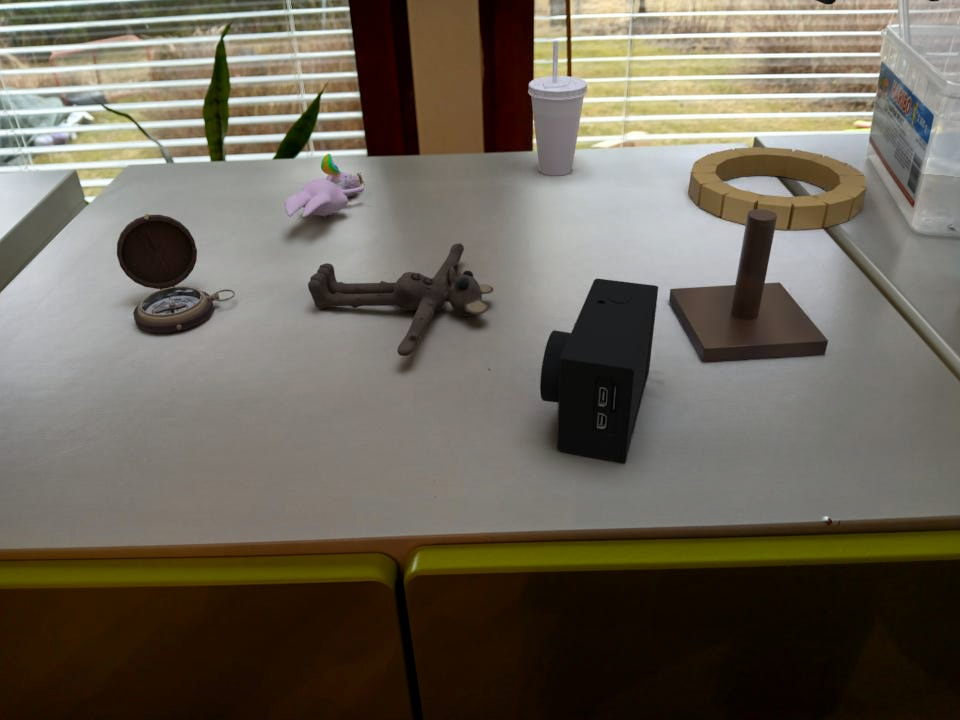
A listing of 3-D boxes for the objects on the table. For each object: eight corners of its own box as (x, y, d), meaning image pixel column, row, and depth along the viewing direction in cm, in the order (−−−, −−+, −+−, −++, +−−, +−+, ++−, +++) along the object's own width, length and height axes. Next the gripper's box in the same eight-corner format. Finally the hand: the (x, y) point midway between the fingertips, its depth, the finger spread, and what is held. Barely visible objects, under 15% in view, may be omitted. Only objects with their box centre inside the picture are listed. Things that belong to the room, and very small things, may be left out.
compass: (140, 343, 61) (113, 258, 57) (131, 299, 67) (106, 219, 63) (244, 318, 64) (226, 235, 60) (226, 278, 70) (208, 200, 66)
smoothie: (516, 172, 90) (515, 42, 82) (549, 156, 94) (552, 31, 86) (562, 184, 87) (566, 49, 79) (594, 167, 91) (601, 38, 83)
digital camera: (573, 360, 57) (577, 273, 54) (649, 371, 56) (658, 283, 52) (537, 448, 49) (539, 353, 45) (625, 464, 48) (634, 368, 44)
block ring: (817, 164, 89) (821, 143, 88) (892, 224, 75) (898, 200, 74) (670, 172, 89) (672, 151, 87) (718, 234, 75) (722, 210, 73)
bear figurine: (349, 223, 72) (507, 217, 68) (359, 266, 74) (512, 262, 70) (266, 324, 57) (461, 323, 54) (281, 374, 59) (470, 375, 56)
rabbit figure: (325, 197, 89) (267, 231, 75) (321, 143, 86) (260, 168, 73) (379, 200, 88) (329, 235, 74) (376, 145, 85) (324, 171, 72)
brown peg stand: (777, 295, 65) (799, 187, 60) (825, 354, 57) (854, 237, 52) (668, 301, 64) (681, 193, 59) (702, 362, 57) (720, 245, 52)
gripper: (1007, -230, 67) (944, -9, 76) (805, -227, 66) (767, -4, 76) (1067, -237, 61) (991, 5, 70) (845, -233, 60) (798, 11, 69)
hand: (875, 0), depth 73 cm, fingers open, 9 cm apart
